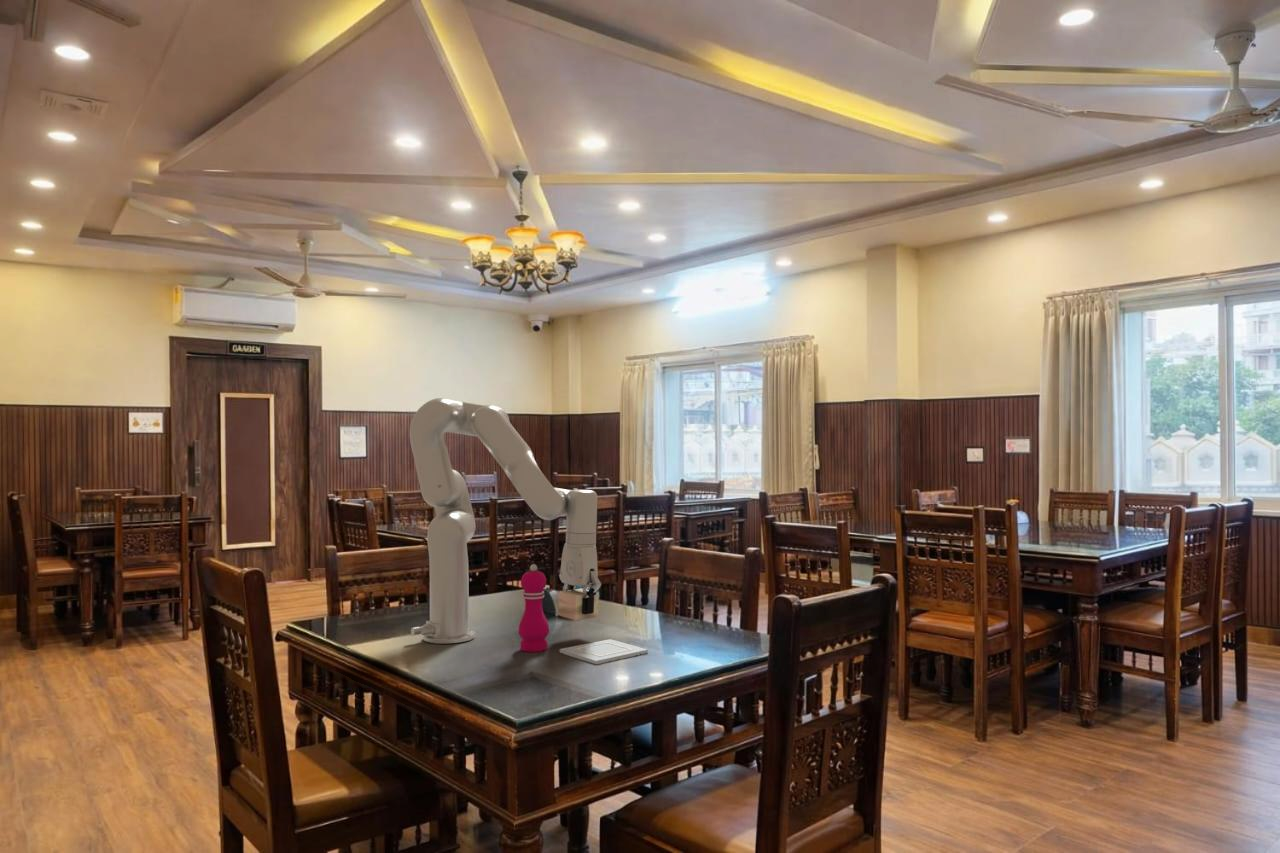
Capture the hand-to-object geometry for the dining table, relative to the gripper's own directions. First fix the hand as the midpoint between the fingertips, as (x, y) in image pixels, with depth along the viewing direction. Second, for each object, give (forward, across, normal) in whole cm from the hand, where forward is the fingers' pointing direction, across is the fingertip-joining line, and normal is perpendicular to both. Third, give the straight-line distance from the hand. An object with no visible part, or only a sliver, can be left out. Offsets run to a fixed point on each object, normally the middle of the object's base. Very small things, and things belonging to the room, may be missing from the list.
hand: (578, 610), depth 211 cm
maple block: (+1, 0, 0) cm, 1 cm away
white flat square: (+7, +16, -4) cm, 18 cm away
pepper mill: (+8, +2, -14) cm, 16 cm away
